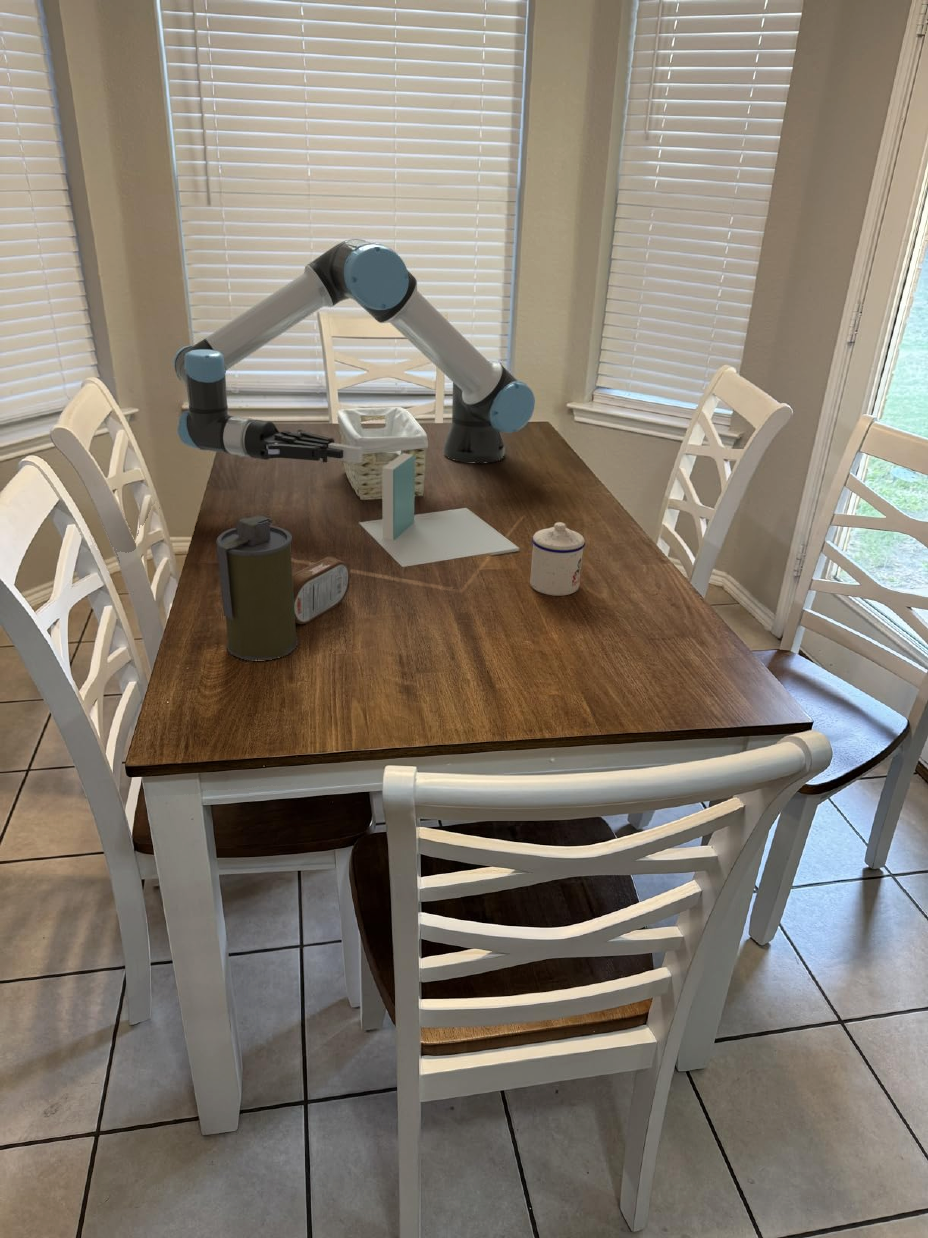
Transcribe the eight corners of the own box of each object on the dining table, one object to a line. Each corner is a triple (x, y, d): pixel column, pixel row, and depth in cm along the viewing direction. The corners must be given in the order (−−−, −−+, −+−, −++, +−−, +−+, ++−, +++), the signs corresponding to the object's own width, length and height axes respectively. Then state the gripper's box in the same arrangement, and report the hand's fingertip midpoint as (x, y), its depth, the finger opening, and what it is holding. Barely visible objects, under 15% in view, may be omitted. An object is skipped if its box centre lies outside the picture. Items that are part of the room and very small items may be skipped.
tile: (382, 537, 170) (382, 467, 163) (402, 520, 178) (403, 453, 171) (394, 539, 169) (394, 469, 162) (414, 522, 177) (414, 454, 171)
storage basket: (429, 501, 191) (430, 434, 184) (355, 505, 186) (353, 437, 180) (404, 466, 211) (404, 405, 204) (337, 470, 207) (335, 407, 200)
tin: (339, 594, 149) (337, 548, 145) (354, 599, 147) (353, 552, 144) (279, 629, 137) (276, 580, 133) (294, 634, 136) (292, 585, 132)
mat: (466, 510, 186) (466, 507, 186) (518, 550, 168) (519, 548, 168) (358, 525, 176) (358, 522, 176) (402, 569, 158) (402, 566, 158)
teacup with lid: (583, 598, 151) (590, 534, 145) (530, 596, 151) (535, 533, 145) (575, 569, 161) (581, 509, 156) (526, 567, 161) (530, 507, 156)
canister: (267, 621, 139) (258, 502, 130) (312, 644, 133) (306, 520, 124) (210, 646, 131) (196, 521, 122) (255, 671, 126) (244, 541, 116)
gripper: (270, 448, 182) (374, 464, 176) (236, 465, 171) (346, 483, 165) (268, 412, 179) (374, 427, 172) (233, 427, 168) (345, 444, 161)
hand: (360, 455), depth 169 cm, fingers closed
